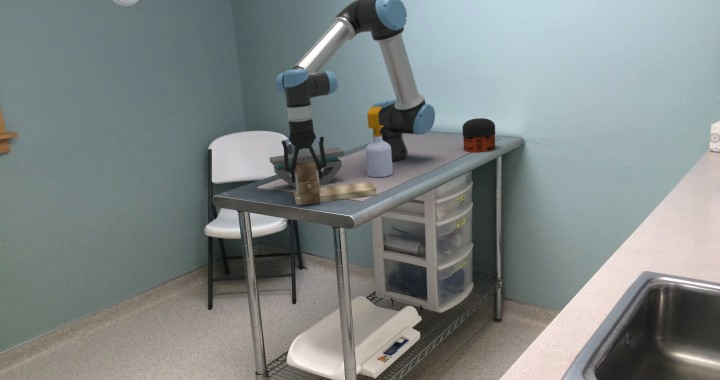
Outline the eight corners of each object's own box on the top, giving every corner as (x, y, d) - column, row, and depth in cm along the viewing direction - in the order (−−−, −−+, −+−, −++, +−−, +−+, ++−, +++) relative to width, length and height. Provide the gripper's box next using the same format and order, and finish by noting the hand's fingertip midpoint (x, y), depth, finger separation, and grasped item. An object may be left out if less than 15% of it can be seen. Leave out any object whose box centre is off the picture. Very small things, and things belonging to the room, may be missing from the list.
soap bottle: (396, 171, 228) (391, 105, 221) (387, 178, 220) (381, 109, 213) (374, 171, 232) (368, 105, 225) (364, 177, 224) (358, 109, 217)
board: (371, 187, 210) (370, 181, 209) (376, 194, 200) (376, 189, 199) (294, 197, 206) (293, 191, 205) (296, 205, 196) (295, 199, 196)
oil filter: (488, 153, 245) (500, 146, 255) (487, 122, 242) (499, 116, 252) (458, 152, 252) (470, 145, 262) (457, 122, 249) (469, 116, 259)
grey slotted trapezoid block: (277, 192, 214) (273, 161, 211) (273, 187, 221) (269, 157, 218) (346, 181, 221) (343, 151, 218) (340, 176, 228) (337, 147, 225)
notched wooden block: (317, 194, 205) (313, 159, 202) (320, 202, 195) (316, 166, 192) (299, 196, 204) (295, 161, 201) (301, 205, 194) (297, 169, 191)
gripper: (328, 114, 200) (335, 183, 206) (269, 121, 197) (278, 190, 203) (331, 117, 193) (338, 189, 199) (270, 124, 190) (279, 196, 196)
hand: (308, 189), depth 201 cm, fingers closed on notched wooden block, 6 cm apart
